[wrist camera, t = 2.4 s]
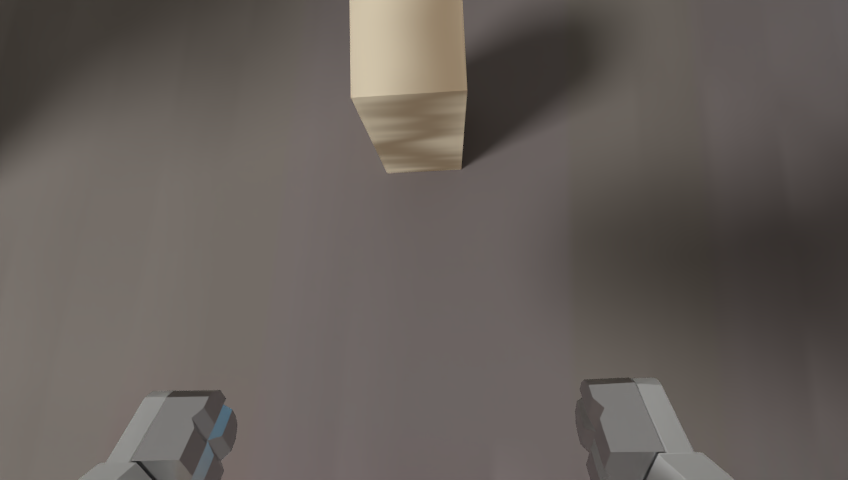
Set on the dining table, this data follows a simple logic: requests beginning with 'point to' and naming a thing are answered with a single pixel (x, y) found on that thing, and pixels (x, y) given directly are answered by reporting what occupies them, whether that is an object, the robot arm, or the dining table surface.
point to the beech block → (410, 80)
